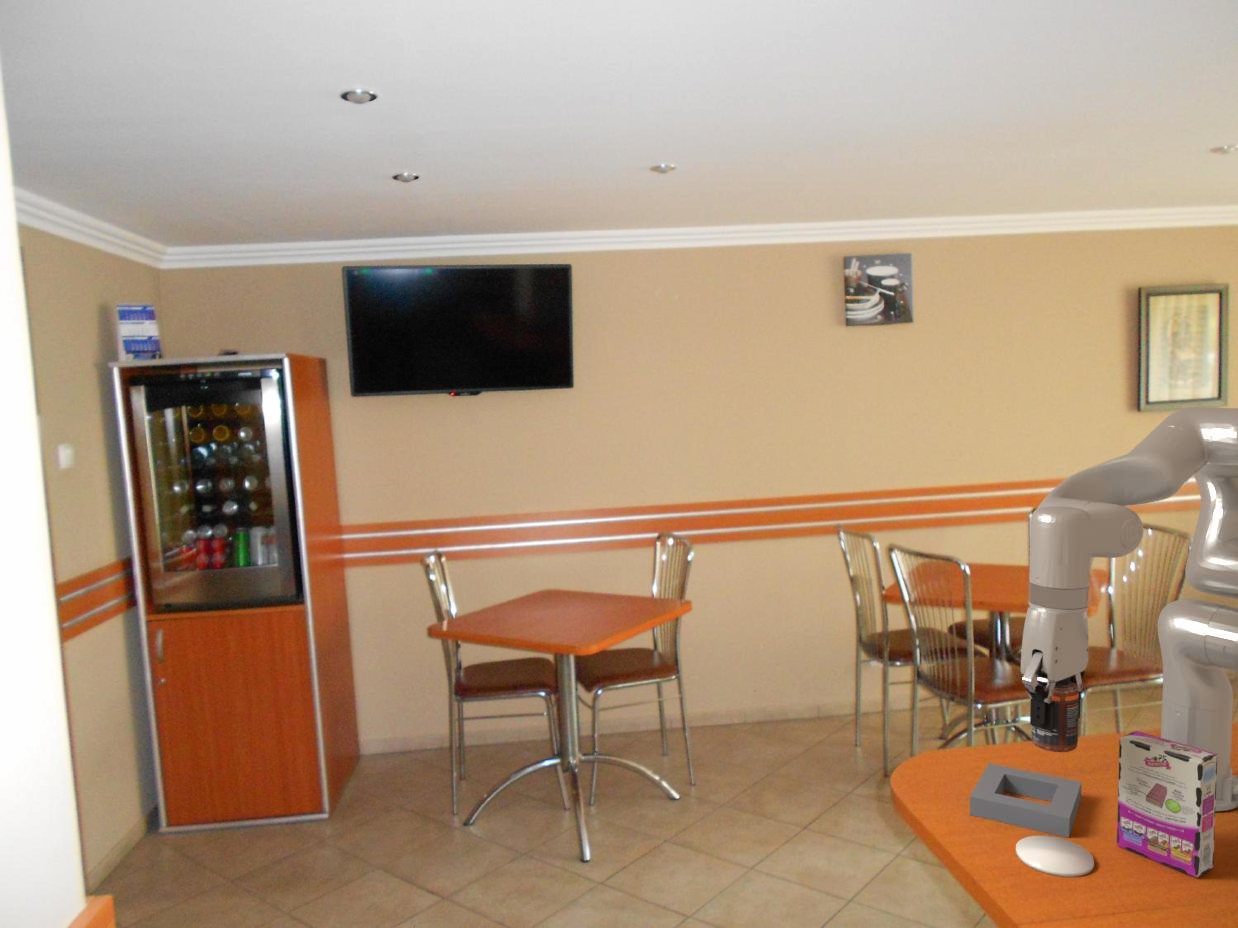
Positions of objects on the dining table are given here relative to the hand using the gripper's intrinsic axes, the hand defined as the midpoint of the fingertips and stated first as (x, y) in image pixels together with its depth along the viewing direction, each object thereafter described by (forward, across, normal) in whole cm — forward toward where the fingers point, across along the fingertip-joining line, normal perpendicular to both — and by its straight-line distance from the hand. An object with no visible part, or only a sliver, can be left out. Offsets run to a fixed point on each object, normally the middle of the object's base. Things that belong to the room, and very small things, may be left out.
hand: (1055, 720), depth 129 cm
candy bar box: (+20, -12, +10) cm, 25 cm away
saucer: (+20, 0, +1) cm, 20 cm away
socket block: (+20, -10, -10) cm, 24 cm away
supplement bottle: (+4, 0, 0) cm, 4 cm away
